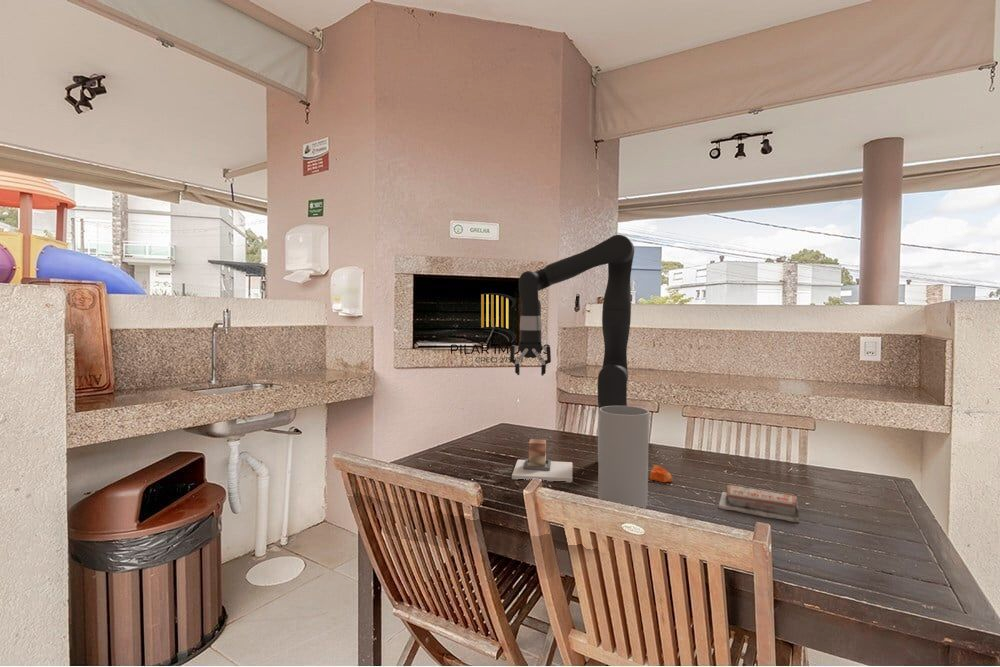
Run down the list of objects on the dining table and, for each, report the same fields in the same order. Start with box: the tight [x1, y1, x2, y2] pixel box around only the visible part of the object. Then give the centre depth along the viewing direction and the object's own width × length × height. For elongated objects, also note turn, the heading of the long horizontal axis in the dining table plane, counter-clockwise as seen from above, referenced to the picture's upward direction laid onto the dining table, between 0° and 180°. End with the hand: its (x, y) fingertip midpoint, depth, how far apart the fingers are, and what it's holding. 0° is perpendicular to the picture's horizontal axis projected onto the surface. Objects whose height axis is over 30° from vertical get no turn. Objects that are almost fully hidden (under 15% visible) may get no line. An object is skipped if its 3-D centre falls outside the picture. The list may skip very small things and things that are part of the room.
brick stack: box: [528, 438, 547, 467], centre depth 158 cm, size 5×5×8 cm
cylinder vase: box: [597, 405, 650, 509], centre depth 129 cm, size 12×12×25 cm
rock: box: [649, 464, 674, 483], centre depth 149 cm, size 12×12×4 cm
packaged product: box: [718, 484, 800, 524], centre depth 128 cm, size 18×5×10 cm
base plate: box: [511, 458, 573, 483], centre depth 156 cm, size 18×16×2 cm
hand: (530, 375), depth 174 cm, fingers open, 8 cm apart
